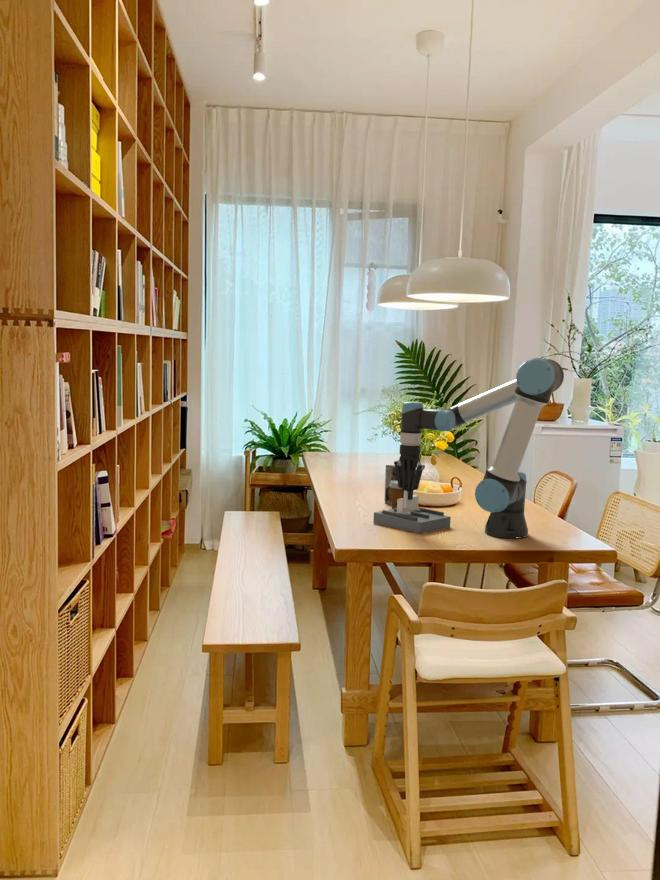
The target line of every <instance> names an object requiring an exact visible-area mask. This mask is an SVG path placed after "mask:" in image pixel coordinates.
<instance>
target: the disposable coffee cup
mask: <svg viewBox="0 0 660 880" xmlns="http://www.w3.org/2000/svg"><path fill="white" fill-rule="evenodd" d="M389 485H390V488H391V501H392V504H391V509H394V508H397V499H401V498H402V493H403V490H402V488H399V487H398V481H397V480H395V481H391V482H390V484H389Z"/></svg>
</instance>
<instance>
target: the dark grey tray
mask: <svg viewBox="0 0 660 880" xmlns="http://www.w3.org/2000/svg"><path fill="white" fill-rule="evenodd" d="M419 498H420V497H419V495H415V494H413V499H412V500H411V508H409V513H411V515H405V514H401V513H396V512H397V508H394V509H392V508H391V509H387V510H386V509H382V510H380V511H375V512H374V511H373V522H372V523H373V524H376V525H377V524H378V525H381V526H386V527H390V528H394V529H398V530H401V529H402V531H407V532H410V531H411V533H414V532H415V534H420V533H421V534H425V532H426V533H430V532H435V531H438V530H444V529H449V528H451V516H448V515H444V514H445V512H443V511H439V510H436V509H435V510H434V509H429V508H425V507H421V506H419V500H420V499H419ZM434 530H435V531H434Z"/></svg>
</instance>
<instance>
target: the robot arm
mask: <svg viewBox="0 0 660 880" xmlns="http://www.w3.org/2000/svg"><path fill="white" fill-rule="evenodd" d="M564 378H565V373H564V370H563V368H562V365H560V364H559V363H558V362H557V361H555V360H554V359H551V358H541V357H534V358H532V359H531V358H530V359H528V360H526V361H524V362H523V363H522V364H521V365H520V366H519V367H518V369H517V372H516V374H515V379H513V380H511V381H508V382H506V383H504V384H501V385H499V386H496V387H494V388H492V389H489V390H487V391H485V392H483V393H480V394H479V395H476V396H474V397H471V398H469V399H467V400H464V401H462V402H459V403H458V404H455V405H453V406H450V407H448V408H425V407H424V404H423V403H422V402H421V401H420V402H419V401H404V402H403V403H402V407H401V414H400V415H401V419H400V420H401V421H400V438H399V443H400V445H399V455H400V456H399V459H398V460H396V461H394V462H393V465H395V467H396V473H397V481H398V487H399V488H402V490H403V493H402V498H403V499H404V500H403V508H405V509H407V508H411V500H412V499H413V495H414V491H416V490H419V486H420V482H421V479H422V474H423V471H424V469H425V468H426V466H425V464H422V463H421V460H420V455H421V445H420V444H421V443H422V442H421V441H422V430H430V431H431V430H432V431H439V432H450V431H451V432H452V430H453V429H458V428H461V426H463V425H464V424H466V423H469V422H472V421H474V420H476V419H478V418H481V417H483V416H485V415H488V414H491V413H493V412H495V411H499V410H501V409H502V408H505V407H508V406H510V405H513V404H514V406H513V408H512V411H511V414H510V417H509V420H508V422H507V425H506V427H505V430H504V433H503V436H502V439H501V442H500V444H499V447H498V450H497V453H496V456H495V458H494V461H493V463H492V465H489V466H488V467H486V470H485V473H484V476H483V478H482V480H480V481H479V483H478V484H477V485H476V487H475V489H474V491H475V492H474V496H475V497H474V498H475V501H476V503H477V504H478V506H479V507H480V508H481V509H482V510H484V511H485V512H488V513H490V514H489V516H488V519H487V520H486V523H485V526H484V533H485V534H486V533H487V535H488V534H489V536H491V535H493V536H492V537H495V536H497V537H496V538H501V537H505V538H504V539H517V538H516V537H524V536H527V535H528V536H529V529H528V524H527V520H526V517H525V505H526V490H527V489H526V488H527V474H526V473H525V472H521V471H519V470H520V467H521V464H522V462H523V459H524V456H525V453H526V452H527V448H528V445H529V443H530V439H531V437H532V435H533V432H534V429H535V428H536V427H535V426H536V424H537V421H538V418H539V415H540V413H541V410H542V408H543V407H545V406H547V405H548V404H549V401H550V399H551V396H552V394H553V393H555V391H557V390H559V389H560V387H561V386H562V385H563V383H564ZM528 536H527V537H528Z"/></svg>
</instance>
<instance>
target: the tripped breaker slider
mask: <svg viewBox="0 0 660 880" xmlns="http://www.w3.org/2000/svg"><path fill="white" fill-rule="evenodd" d="M403 500H404V499H403V498H401V499H397V512H396V513H401V514H405V515H411V513H409V508H407V509H405V508H403Z"/></svg>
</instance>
